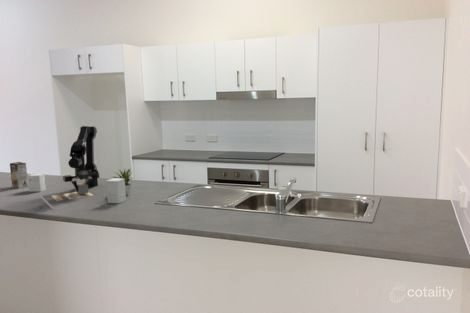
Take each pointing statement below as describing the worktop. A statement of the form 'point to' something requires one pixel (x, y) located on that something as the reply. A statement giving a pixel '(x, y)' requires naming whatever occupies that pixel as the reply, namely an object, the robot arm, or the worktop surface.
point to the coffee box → (18, 175)
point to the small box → (36, 182)
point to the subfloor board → (69, 196)
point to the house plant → (126, 177)
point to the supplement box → (116, 190)
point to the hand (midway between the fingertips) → (81, 190)
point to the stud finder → (82, 188)
